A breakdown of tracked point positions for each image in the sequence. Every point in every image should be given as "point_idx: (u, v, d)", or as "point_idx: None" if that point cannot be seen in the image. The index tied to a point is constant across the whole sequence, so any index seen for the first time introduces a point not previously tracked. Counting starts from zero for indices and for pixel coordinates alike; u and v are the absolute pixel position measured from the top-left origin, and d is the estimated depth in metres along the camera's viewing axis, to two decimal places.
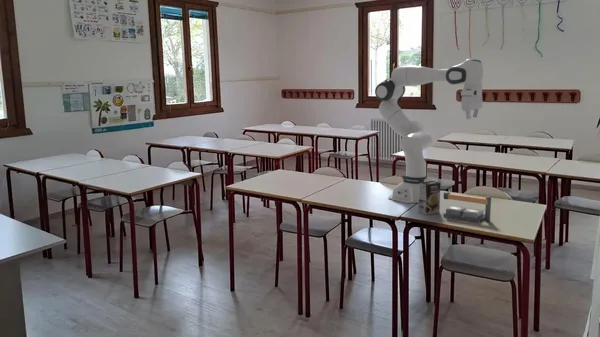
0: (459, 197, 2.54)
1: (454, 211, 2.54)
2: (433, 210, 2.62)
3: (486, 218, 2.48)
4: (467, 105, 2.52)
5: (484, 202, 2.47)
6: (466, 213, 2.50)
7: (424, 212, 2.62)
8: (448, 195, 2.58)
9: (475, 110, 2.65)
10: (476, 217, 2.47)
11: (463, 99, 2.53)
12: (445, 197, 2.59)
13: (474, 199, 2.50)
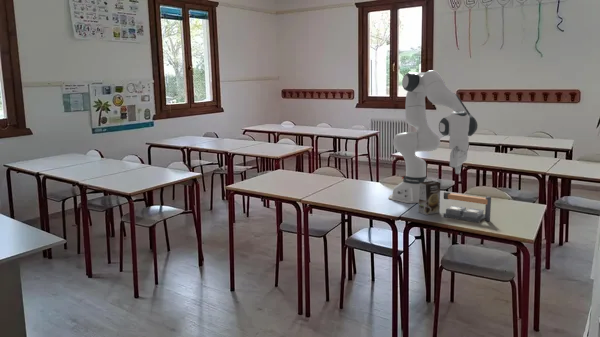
0: (459, 197, 2.54)
1: (454, 211, 2.54)
2: (433, 210, 2.62)
3: (486, 218, 2.48)
4: None
5: (484, 202, 2.47)
6: (466, 213, 2.50)
7: (424, 212, 2.62)
8: (448, 195, 2.58)
9: None
10: (476, 217, 2.47)
11: None
12: (445, 197, 2.59)
13: (474, 199, 2.50)
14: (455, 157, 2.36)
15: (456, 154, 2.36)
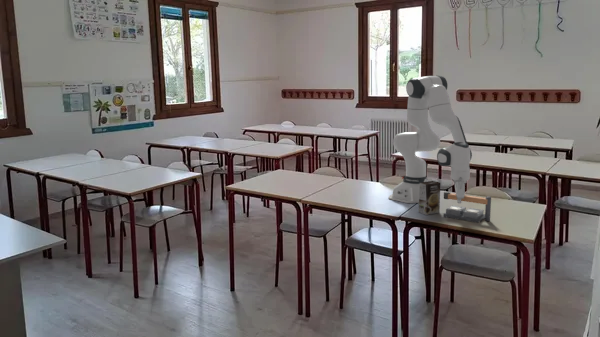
0: None
1: (454, 211, 2.54)
2: (433, 210, 2.62)
3: (486, 218, 2.48)
4: None
5: (484, 202, 2.47)
6: (466, 213, 2.50)
7: (424, 212, 2.62)
8: (448, 195, 2.58)
9: None
10: (476, 217, 2.47)
11: None
12: (445, 197, 2.59)
13: (474, 199, 2.50)
14: (462, 189, 2.41)
15: (463, 186, 2.41)
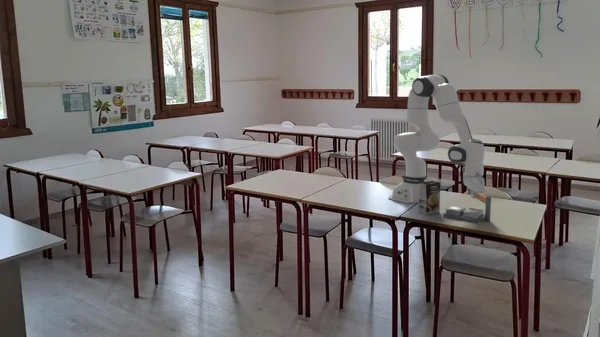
0: None
1: (454, 211, 2.54)
2: (433, 211, 2.62)
3: (485, 217, 2.48)
4: None
5: (484, 201, 2.48)
6: (466, 213, 2.50)
7: (424, 212, 2.62)
8: None
9: None
10: (476, 217, 2.47)
11: None
12: (468, 192, 2.67)
13: (480, 197, 2.53)
14: (483, 183, 2.48)
15: (483, 180, 2.48)
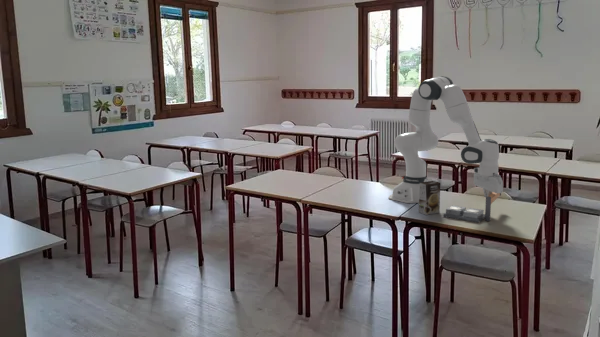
0: None
1: (454, 211, 2.54)
2: (433, 211, 2.62)
3: None
4: None
5: None
6: (466, 213, 2.50)
7: (424, 212, 2.62)
8: None
9: None
10: (476, 217, 2.47)
11: None
12: None
13: None
14: (501, 183, 2.49)
15: (501, 180, 2.49)
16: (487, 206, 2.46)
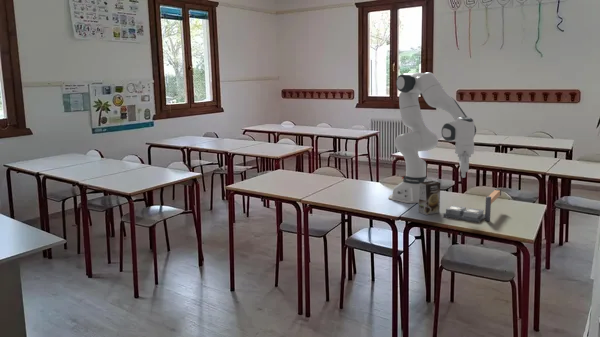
0: None
1: (454, 211, 2.54)
2: (433, 211, 2.62)
3: None
4: None
5: None
6: (466, 213, 2.50)
7: (424, 212, 2.62)
8: None
9: None
10: (476, 217, 2.47)
11: None
12: None
13: None
14: (466, 162, 2.43)
15: (467, 159, 2.43)
16: (487, 206, 2.46)
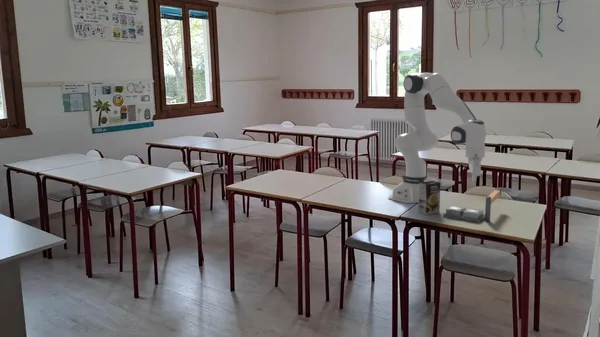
0: None
1: (454, 211, 2.54)
2: (433, 210, 2.62)
3: None
4: None
5: None
6: (466, 213, 2.50)
7: (424, 212, 2.62)
8: None
9: None
10: (476, 217, 2.47)
11: None
12: None
13: None
14: (478, 166, 2.37)
15: (479, 163, 2.37)
16: (487, 206, 2.46)
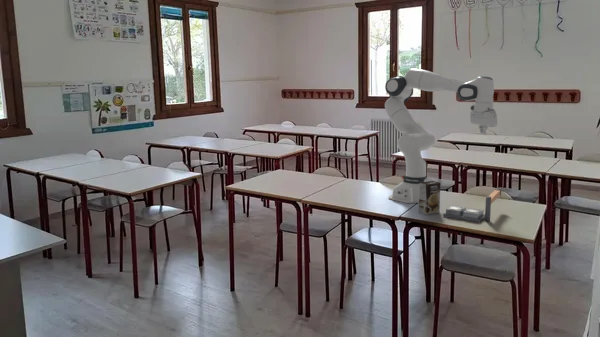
0: None
1: (454, 211, 2.54)
2: (433, 211, 2.62)
3: None
4: None
5: None
6: (466, 213, 2.50)
7: (424, 212, 2.62)
8: None
9: None
10: (476, 217, 2.47)
11: None
12: None
13: None
14: (495, 117, 2.57)
15: (496, 114, 2.57)
16: (487, 206, 2.46)
